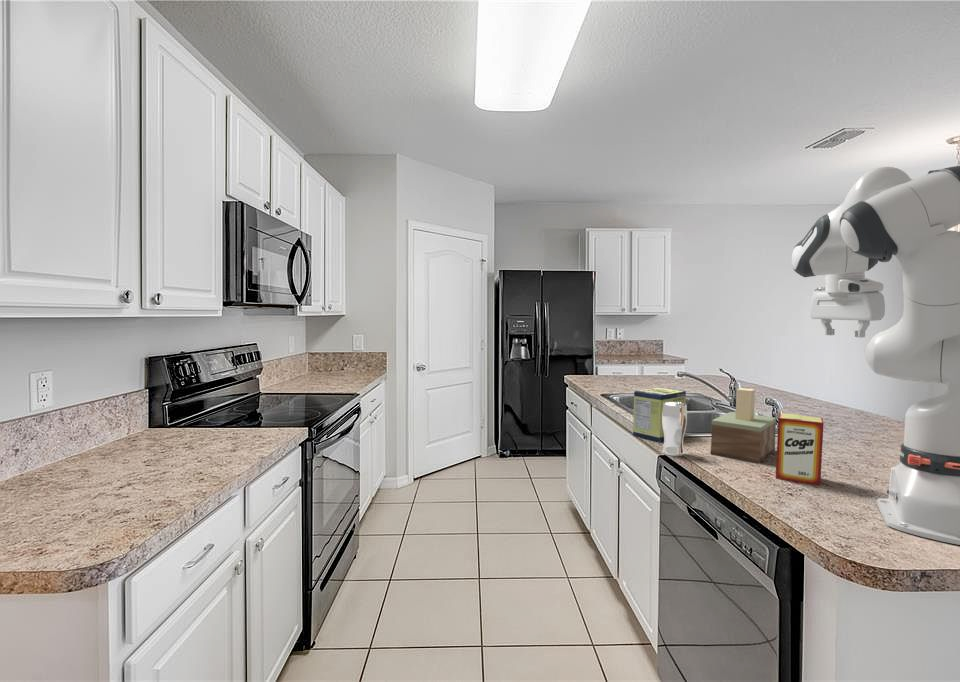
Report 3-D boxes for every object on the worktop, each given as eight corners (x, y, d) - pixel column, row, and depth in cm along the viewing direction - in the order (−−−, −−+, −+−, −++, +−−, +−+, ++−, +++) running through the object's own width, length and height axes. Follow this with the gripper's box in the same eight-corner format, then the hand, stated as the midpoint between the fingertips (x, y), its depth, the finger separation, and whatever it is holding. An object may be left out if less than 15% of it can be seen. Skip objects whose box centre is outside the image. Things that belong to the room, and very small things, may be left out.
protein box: (685, 435, 172) (686, 390, 171) (659, 442, 163) (661, 395, 162) (657, 429, 181) (659, 386, 180) (632, 436, 171) (633, 390, 170)
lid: (760, 435, 141) (762, 395, 140) (711, 427, 149) (713, 390, 149) (775, 424, 154) (777, 388, 153) (730, 418, 163) (731, 384, 162)
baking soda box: (819, 478, 129) (822, 416, 128) (820, 485, 124) (823, 421, 123) (776, 471, 134) (779, 412, 133) (775, 478, 129) (778, 416, 128)
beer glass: (670, 457, 146) (672, 406, 145) (655, 451, 153) (657, 402, 152) (690, 455, 148) (692, 405, 147) (675, 449, 155) (677, 401, 154)
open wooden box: (759, 463, 141) (760, 431, 140) (710, 454, 150) (711, 424, 149) (774, 450, 154) (776, 421, 154) (729, 442, 163) (730, 415, 162)
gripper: (804, 287, 148) (804, 334, 149) (868, 285, 128) (868, 339, 129) (822, 286, 149) (822, 333, 150) (889, 284, 129) (889, 337, 130)
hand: (844, 336), depth 139 cm, fingers open, 8 cm apart
